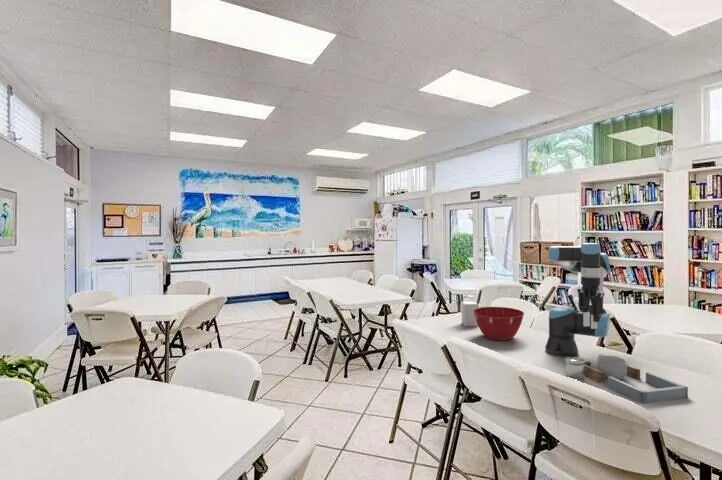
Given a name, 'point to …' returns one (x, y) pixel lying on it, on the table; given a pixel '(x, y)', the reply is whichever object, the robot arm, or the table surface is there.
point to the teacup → (612, 366)
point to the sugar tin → (575, 368)
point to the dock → (666, 391)
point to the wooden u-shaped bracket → (600, 375)
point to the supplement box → (469, 313)
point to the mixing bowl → (498, 322)
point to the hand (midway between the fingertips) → (590, 327)
